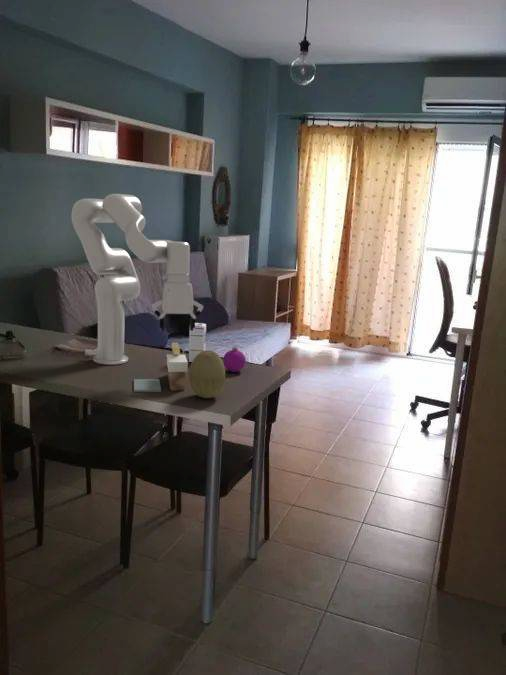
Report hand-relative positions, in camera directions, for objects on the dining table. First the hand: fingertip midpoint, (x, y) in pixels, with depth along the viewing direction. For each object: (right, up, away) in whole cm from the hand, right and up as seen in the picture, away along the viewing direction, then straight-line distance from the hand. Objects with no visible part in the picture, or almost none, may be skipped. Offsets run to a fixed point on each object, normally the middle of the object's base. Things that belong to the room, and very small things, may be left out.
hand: (177, 329), depth 199 cm
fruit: (+11, -21, -15) cm, 28 cm away
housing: (0, -18, -2) cm, 18 cm away
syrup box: (+4, -12, +27) cm, 30 cm away
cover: (+1, -12, -6) cm, 14 cm away
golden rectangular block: (-1, -11, +1) cm, 12 cm away
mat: (-9, -18, -8) cm, 22 cm away
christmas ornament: (+18, -15, +16) cm, 29 cm away
